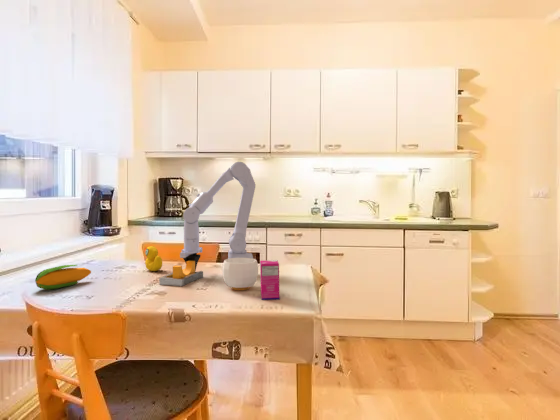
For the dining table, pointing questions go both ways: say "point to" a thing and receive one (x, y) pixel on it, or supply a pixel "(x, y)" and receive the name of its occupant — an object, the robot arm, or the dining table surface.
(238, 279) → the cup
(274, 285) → the supplement box
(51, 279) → the corn
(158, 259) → the duckling
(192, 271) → the pipe clamp
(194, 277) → the grey shallow rectangular tray
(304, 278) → the dining table surface
